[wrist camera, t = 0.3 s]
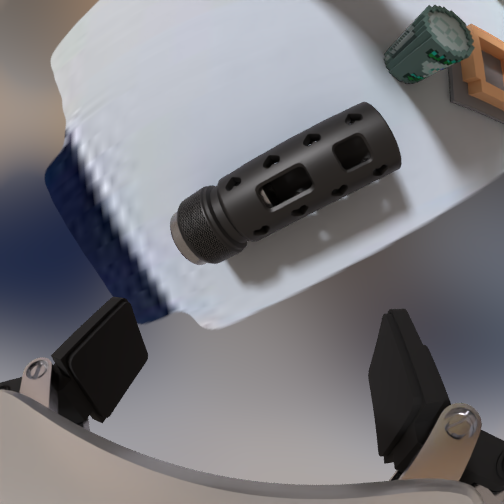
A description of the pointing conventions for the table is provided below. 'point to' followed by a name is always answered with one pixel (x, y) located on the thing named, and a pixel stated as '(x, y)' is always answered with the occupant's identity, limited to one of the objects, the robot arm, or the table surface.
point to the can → (429, 45)
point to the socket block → (480, 76)
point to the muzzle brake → (286, 184)
